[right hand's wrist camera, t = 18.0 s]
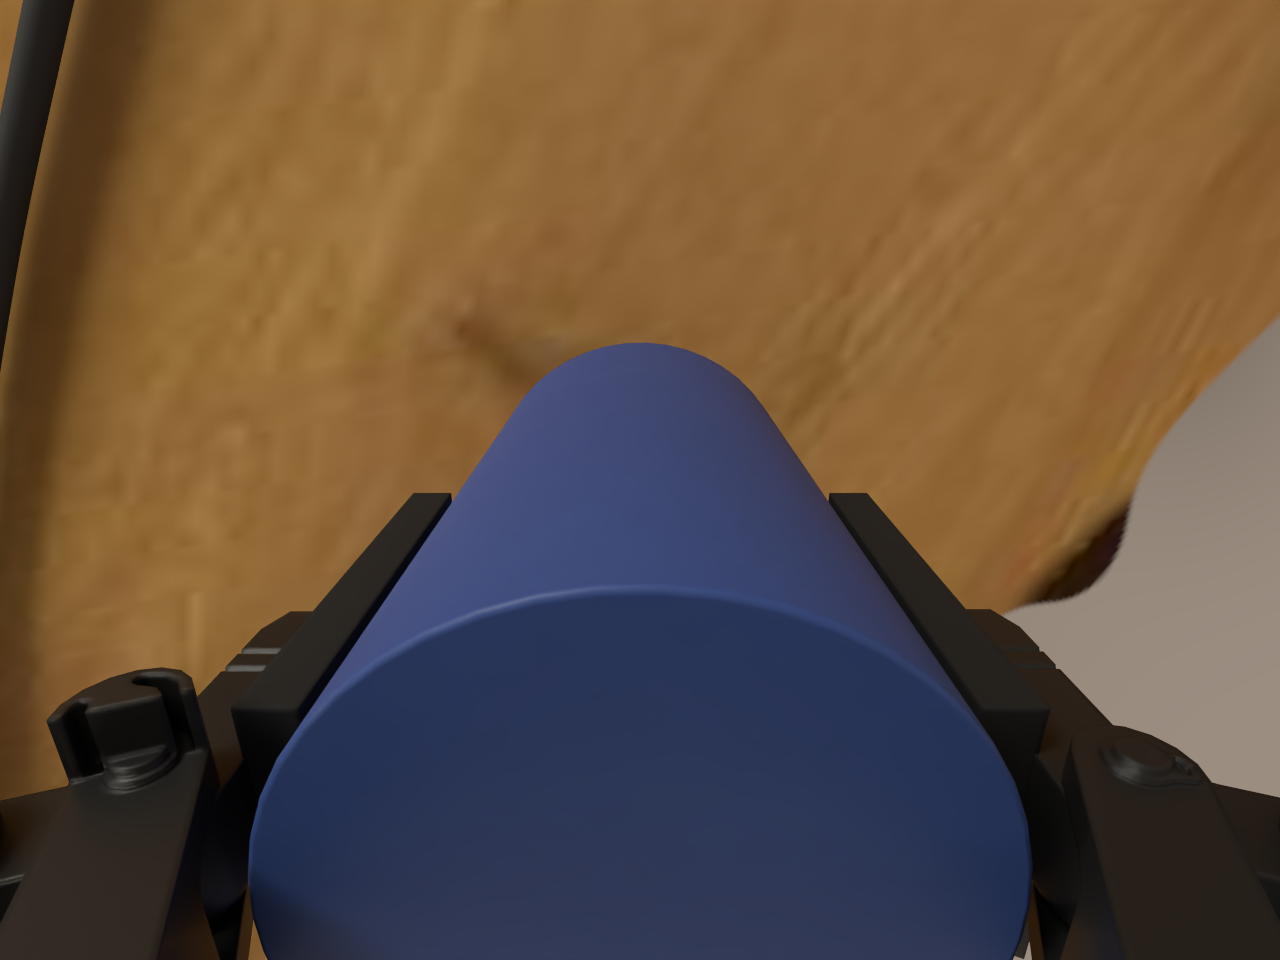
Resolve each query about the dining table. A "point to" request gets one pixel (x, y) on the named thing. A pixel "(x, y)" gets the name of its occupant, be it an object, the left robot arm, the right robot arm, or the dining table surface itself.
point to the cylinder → (640, 717)
